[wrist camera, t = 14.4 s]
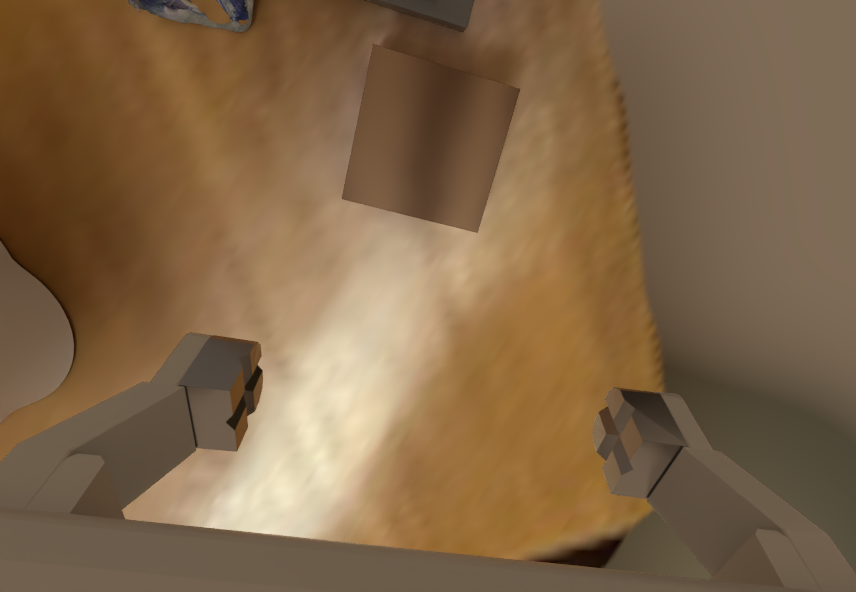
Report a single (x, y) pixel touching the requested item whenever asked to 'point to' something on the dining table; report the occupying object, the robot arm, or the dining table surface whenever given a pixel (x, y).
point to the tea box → (427, 139)
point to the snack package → (198, 12)
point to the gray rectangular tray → (434, 10)
